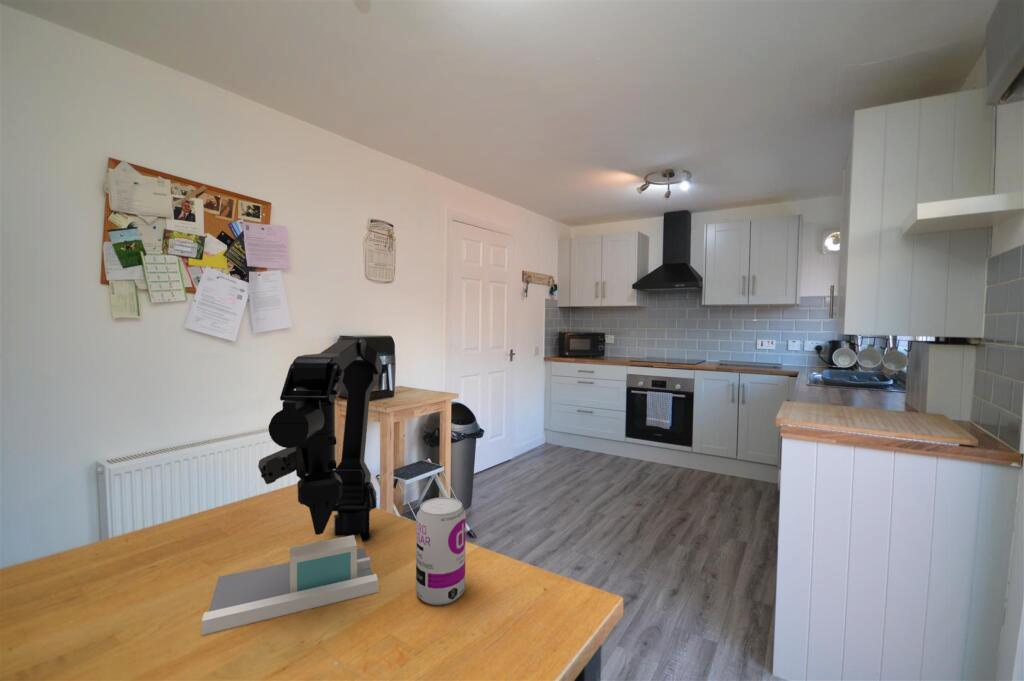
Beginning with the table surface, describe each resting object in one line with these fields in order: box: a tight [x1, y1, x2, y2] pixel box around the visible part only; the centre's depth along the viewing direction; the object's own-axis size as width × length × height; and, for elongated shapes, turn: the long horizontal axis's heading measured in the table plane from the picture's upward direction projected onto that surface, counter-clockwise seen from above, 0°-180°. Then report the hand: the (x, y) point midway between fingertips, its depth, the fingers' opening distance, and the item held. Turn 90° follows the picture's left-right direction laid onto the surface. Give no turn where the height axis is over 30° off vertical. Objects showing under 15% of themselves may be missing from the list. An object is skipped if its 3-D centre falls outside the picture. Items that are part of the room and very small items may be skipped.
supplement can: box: [415, 496, 467, 606], centre depth 75 cm, size 8×8×15 cm
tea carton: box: [289, 535, 358, 593], centre depth 74 cm, size 4×10×7 cm, turn 116°
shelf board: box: [201, 547, 379, 636], centre depth 75 cm, size 24×16×4 cm, turn 116°
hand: (317, 522), depth 75 cm, fingers open, 9 cm apart
